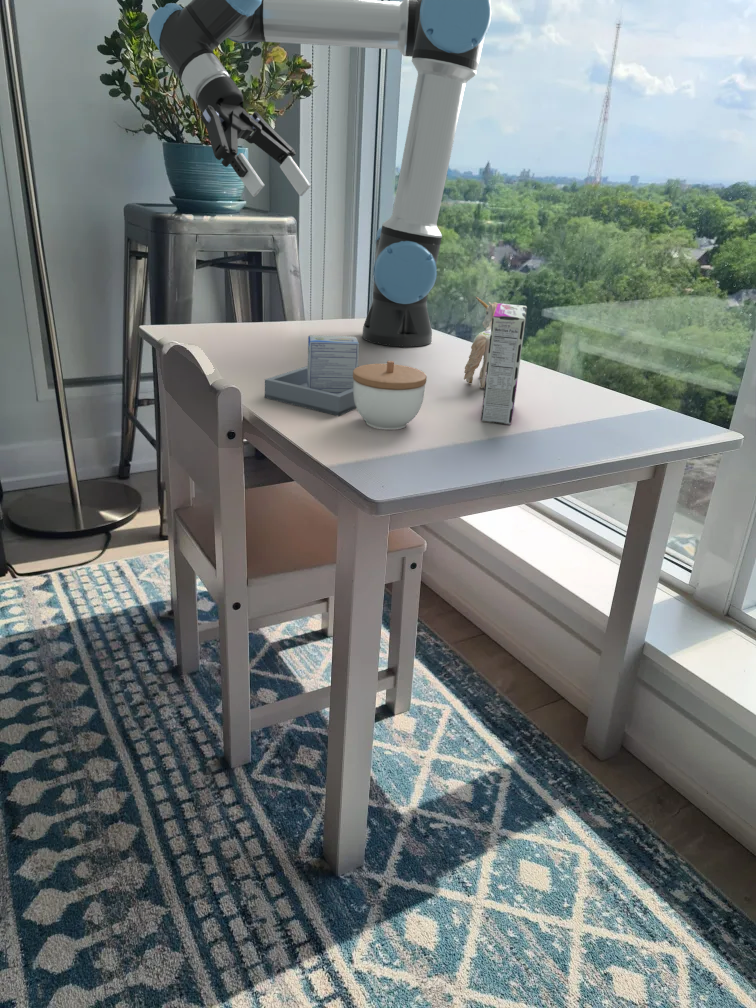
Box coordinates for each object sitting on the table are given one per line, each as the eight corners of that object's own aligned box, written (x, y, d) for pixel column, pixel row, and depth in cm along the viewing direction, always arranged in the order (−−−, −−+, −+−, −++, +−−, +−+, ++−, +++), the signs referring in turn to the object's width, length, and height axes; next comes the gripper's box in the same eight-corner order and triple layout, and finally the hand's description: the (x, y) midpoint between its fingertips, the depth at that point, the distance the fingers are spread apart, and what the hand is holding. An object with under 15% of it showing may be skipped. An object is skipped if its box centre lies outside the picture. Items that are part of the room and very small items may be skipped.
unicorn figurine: (504, 369, 149) (514, 299, 143) (503, 397, 131) (514, 318, 126) (467, 366, 150) (475, 296, 144) (461, 392, 132) (470, 314, 127)
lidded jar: (399, 440, 108) (404, 375, 104) (336, 424, 112) (339, 361, 109) (434, 422, 116) (440, 361, 112) (374, 408, 121) (378, 349, 117)
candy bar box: (483, 402, 128) (496, 302, 121) (514, 405, 127) (528, 305, 120) (478, 422, 118) (491, 314, 111) (511, 426, 117) (526, 317, 110)
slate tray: (327, 375, 136) (327, 359, 135) (395, 391, 130) (397, 373, 129) (264, 397, 122) (264, 379, 121) (338, 416, 116) (339, 396, 115)
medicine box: (353, 387, 128) (356, 336, 125) (356, 395, 124) (359, 342, 121) (306, 386, 127) (307, 334, 124) (308, 394, 123) (309, 340, 120)
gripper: (247, 113, 146) (310, 204, 145) (150, 101, 125) (224, 207, 125) (269, 82, 141) (335, 176, 141) (173, 64, 121) (249, 174, 121)
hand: (283, 191), depth 133 cm, fingers open, 13 cm apart
